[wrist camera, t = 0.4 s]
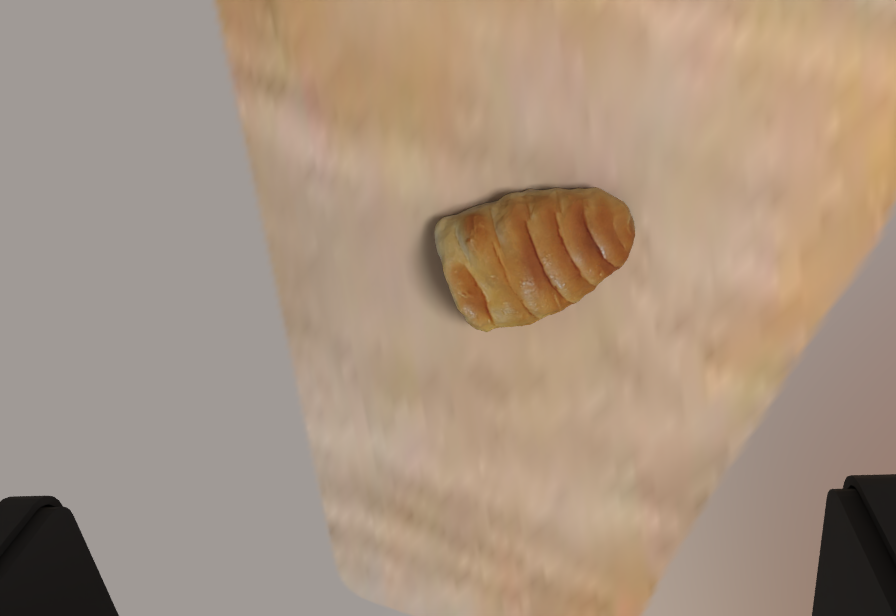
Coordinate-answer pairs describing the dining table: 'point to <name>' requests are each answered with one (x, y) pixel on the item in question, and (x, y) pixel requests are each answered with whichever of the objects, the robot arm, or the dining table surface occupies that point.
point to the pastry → (532, 253)
